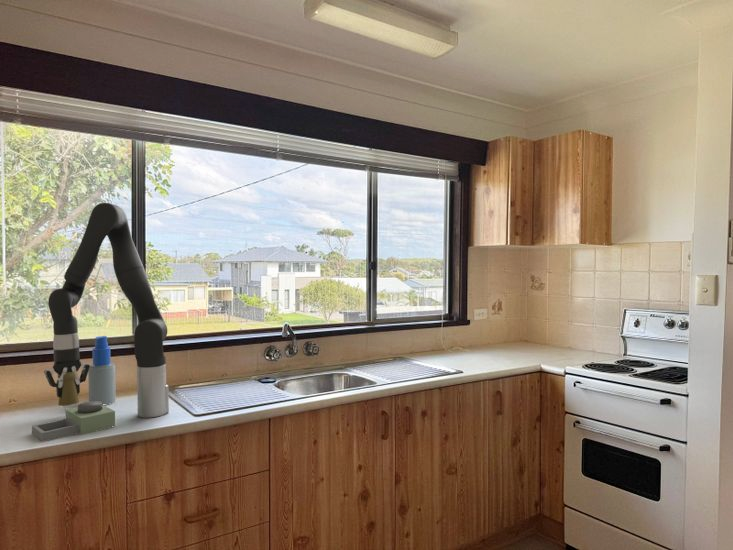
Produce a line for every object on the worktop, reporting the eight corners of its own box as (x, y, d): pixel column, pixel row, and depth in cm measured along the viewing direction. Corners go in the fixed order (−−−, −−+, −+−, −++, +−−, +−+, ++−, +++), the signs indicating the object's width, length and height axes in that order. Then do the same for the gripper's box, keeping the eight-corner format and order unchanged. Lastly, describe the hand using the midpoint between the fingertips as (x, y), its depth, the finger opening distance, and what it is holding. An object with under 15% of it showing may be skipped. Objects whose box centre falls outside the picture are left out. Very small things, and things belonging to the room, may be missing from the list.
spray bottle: (104, 398, 194) (103, 334, 194) (120, 400, 191) (119, 335, 190) (83, 404, 186) (82, 337, 186) (99, 407, 183) (98, 339, 182)
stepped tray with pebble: (98, 417, 171) (98, 397, 170) (115, 426, 161) (114, 404, 161) (30, 432, 156) (29, 410, 156) (44, 443, 146) (43, 419, 146)
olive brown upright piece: (82, 400, 174) (81, 369, 173) (72, 405, 168) (71, 372, 167) (64, 400, 174) (63, 369, 173) (54, 406, 168) (53, 373, 167)
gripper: (46, 351, 162) (48, 403, 163) (93, 344, 173) (95, 394, 173) (38, 348, 167) (41, 399, 168) (85, 342, 178) (87, 390, 178)
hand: (68, 396), depth 171 cm, fingers closed on olive brown upright piece, 4 cm apart
